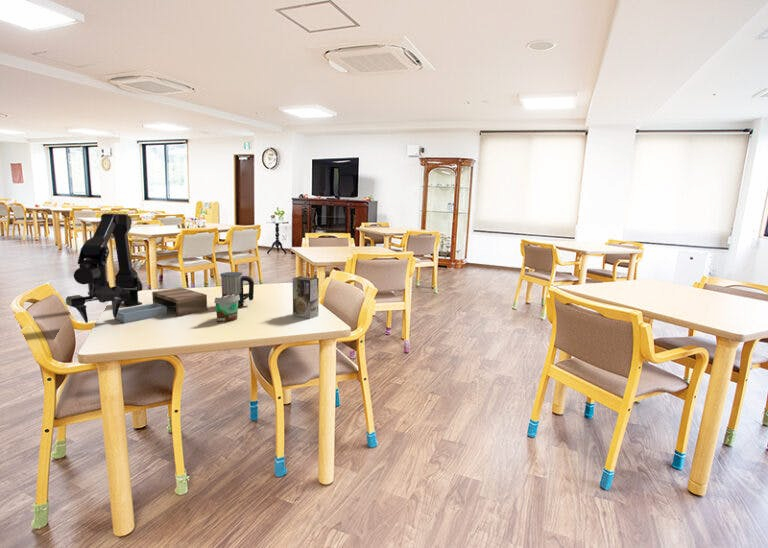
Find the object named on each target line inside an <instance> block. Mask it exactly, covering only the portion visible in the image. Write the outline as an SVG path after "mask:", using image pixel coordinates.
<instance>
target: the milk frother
mask: <svg viewBox="0 0 768 548" xmlns="http://www.w3.org/2000/svg"><path fill="white" fill-rule="evenodd" d="M243 274H244V273H243V272H240V271H226V272H225V271H224V272H222V273H220V274H219V275H220V278H221V279H220V280H221V297H223V296H225V295H230V294H231V292H237V293H238V295H239V297H240V300H239V301H238V309H239V308H242V307H243V306H244V305H245V304H244V301H245V300H247V299H248V300H249V301H253V300H254V292H255V291H254V289H255V288H254V287H255V283H254V282H255V281H254V279H253V278H252V277H250V276H249V275H248V276H247V275H243ZM244 282H247V283H248V292H247V293H244Z"/></svg>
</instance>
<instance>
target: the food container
mask: <svg viewBox="0 0 768 548" xmlns="http://www.w3.org/2000/svg"><path fill="white" fill-rule="evenodd" d="M239 300H240V297H239V295H238V293H237V292H231V294H230V295H225V296H223V297H222V296H221V297H215V298H214V304H215V311H216V322H217V323H230V322H234V321H237V320H238V310H239V308H238V301H239Z"/></svg>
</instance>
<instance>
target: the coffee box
mask: <svg viewBox="0 0 768 548" xmlns="http://www.w3.org/2000/svg"><path fill="white" fill-rule="evenodd" d="M319 279H320V278H319V277H313V276H306V275H305V276H303V275H299V276H296V277H293V278H292V316H293V315H295V316H294V317H299V316H300V317H301V318H304V319H305V318H306V319H312V318H315V317H317V316H319Z"/></svg>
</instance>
